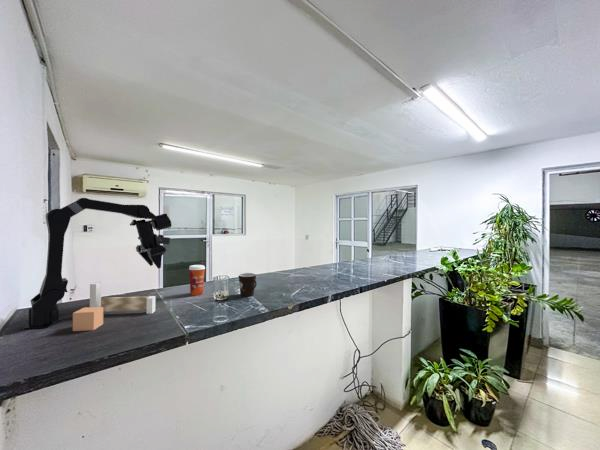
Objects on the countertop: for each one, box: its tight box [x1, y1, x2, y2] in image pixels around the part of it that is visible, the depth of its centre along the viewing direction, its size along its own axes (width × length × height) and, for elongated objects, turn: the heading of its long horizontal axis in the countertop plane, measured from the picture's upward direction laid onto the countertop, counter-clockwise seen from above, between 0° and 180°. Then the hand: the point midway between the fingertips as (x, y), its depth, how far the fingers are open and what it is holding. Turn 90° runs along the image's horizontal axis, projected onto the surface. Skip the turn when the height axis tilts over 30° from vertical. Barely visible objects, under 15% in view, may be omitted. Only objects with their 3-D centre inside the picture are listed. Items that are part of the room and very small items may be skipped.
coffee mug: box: [238, 272, 257, 298], centre depth 120 cm, size 12×9×10 cm
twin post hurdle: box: [89, 281, 156, 315], centre depth 94 cm, size 22×3×12 cm, turn 100°
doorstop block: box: [72, 306, 104, 332], centre depth 82 cm, size 6×5×6 cm
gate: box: [101, 296, 149, 313], centre depth 94 cm, size 16×1×5 cm, turn 100°
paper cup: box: [188, 264, 206, 296], centre depth 122 cm, size 8×8×14 cm
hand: (155, 266), depth 109 cm, fingers open, 9 cm apart
